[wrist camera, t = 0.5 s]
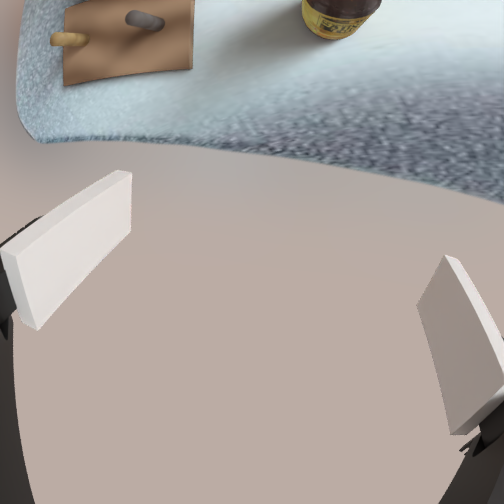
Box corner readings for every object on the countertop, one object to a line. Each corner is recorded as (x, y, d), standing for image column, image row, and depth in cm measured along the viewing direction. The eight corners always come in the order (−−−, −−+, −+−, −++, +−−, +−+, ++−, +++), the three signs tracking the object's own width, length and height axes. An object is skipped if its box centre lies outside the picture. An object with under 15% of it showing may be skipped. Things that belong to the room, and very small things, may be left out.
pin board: (70, 9, 29) (36, 5, 23) (195, -21, 26) (171, -39, 20) (68, 85, 35) (33, 91, 29) (192, 68, 32) (166, 67, 26)
